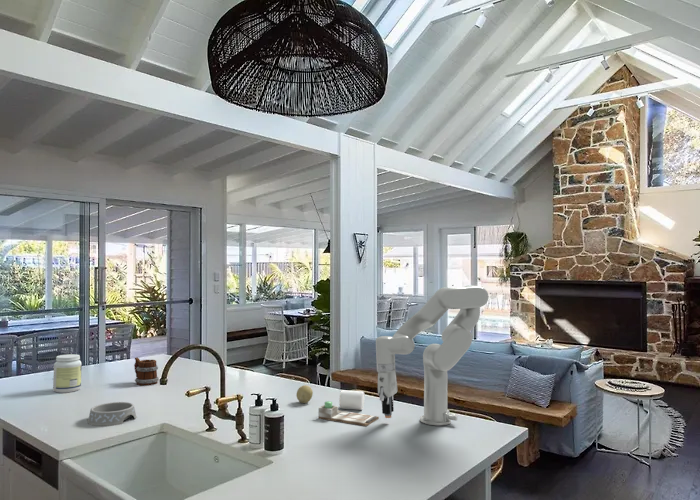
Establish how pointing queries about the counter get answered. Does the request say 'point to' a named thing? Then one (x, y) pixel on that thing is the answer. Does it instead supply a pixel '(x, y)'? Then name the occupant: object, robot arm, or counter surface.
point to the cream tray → (345, 416)
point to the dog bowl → (111, 413)
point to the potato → (304, 394)
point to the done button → (328, 404)
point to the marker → (390, 409)
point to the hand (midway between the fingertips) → (388, 412)
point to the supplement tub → (67, 373)
